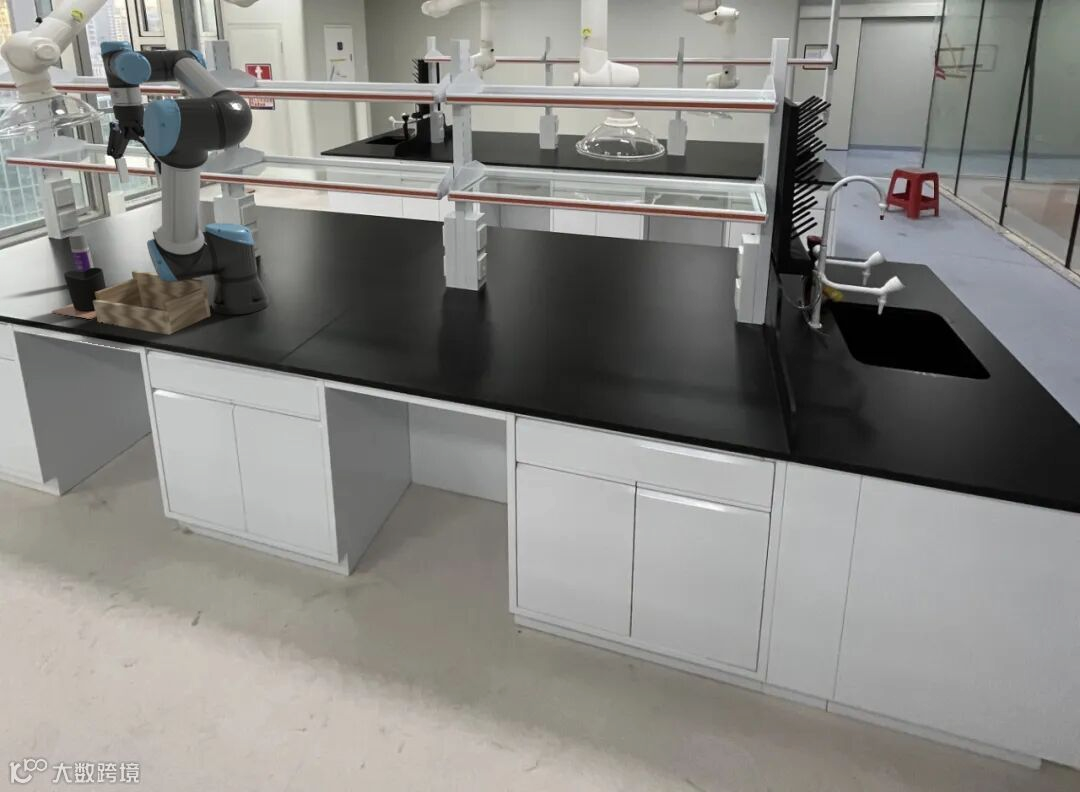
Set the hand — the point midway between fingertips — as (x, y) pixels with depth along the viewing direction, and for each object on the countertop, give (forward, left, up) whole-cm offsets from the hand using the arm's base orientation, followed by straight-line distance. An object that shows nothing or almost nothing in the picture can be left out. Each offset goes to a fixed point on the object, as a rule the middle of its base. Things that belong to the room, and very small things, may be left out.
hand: (143, 184), depth 225 cm
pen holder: (+18, +10, -31) cm, 37 cm away
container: (+24, -16, -32) cm, 43 cm away
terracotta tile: (+18, +10, -32) cm, 38 cm away
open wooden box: (0, +23, -32) cm, 39 cm away
